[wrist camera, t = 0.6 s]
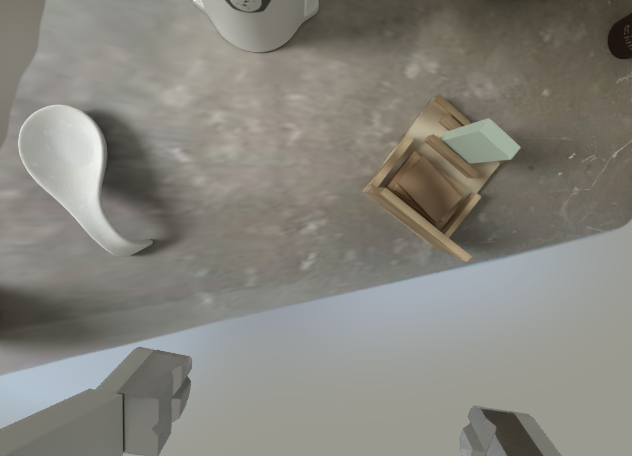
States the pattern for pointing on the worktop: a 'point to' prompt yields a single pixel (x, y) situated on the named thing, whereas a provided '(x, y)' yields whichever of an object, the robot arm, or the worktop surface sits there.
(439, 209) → the offcut stack
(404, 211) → the offcut rack
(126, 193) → the worktop surface
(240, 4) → the robot arm
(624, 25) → the coffee mug
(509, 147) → the sage board
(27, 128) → the spoon rest
